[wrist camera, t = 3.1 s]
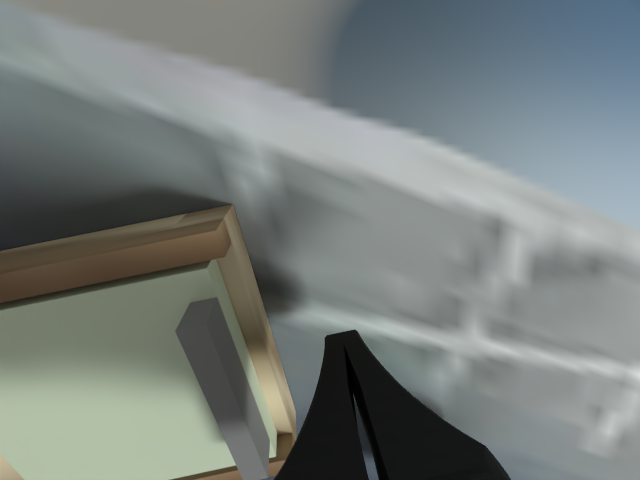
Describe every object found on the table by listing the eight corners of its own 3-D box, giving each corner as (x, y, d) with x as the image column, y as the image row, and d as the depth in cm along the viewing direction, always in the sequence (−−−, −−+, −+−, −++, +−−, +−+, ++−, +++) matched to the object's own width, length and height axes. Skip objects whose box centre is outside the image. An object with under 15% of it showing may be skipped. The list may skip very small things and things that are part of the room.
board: (295, 411, 18) (297, 471, 15) (-109, 498, 18) (-192, 577, 15) (232, 204, 13) (215, 230, 10) (-333, 317, 13) (-528, 381, 10)
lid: (277, 432, 16) (274, 494, 13) (65, 478, 16) (21, 550, 13) (214, 253, 12) (193, 292, 9) (-72, 312, 12) (-175, 368, 9)
